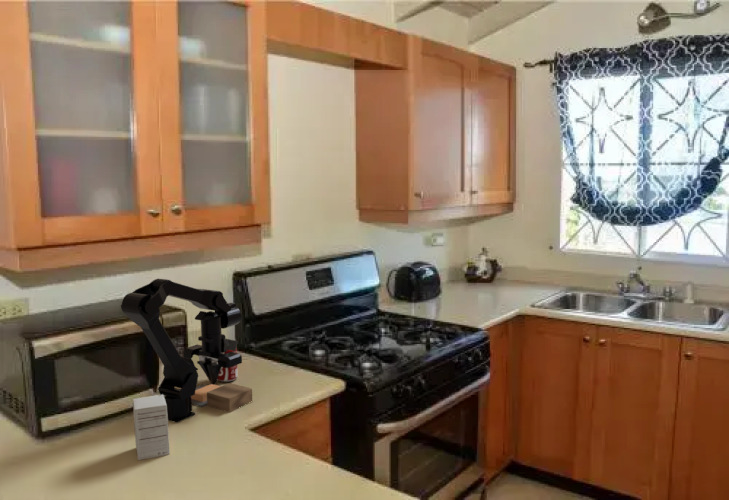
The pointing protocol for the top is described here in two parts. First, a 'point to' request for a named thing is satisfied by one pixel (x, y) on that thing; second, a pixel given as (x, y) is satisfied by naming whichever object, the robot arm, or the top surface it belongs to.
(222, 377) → the soda can
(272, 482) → the top surface
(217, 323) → the robot arm
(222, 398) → the block
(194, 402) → the charcoal mat
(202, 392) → the terracotta tile
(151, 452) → the supplement box
